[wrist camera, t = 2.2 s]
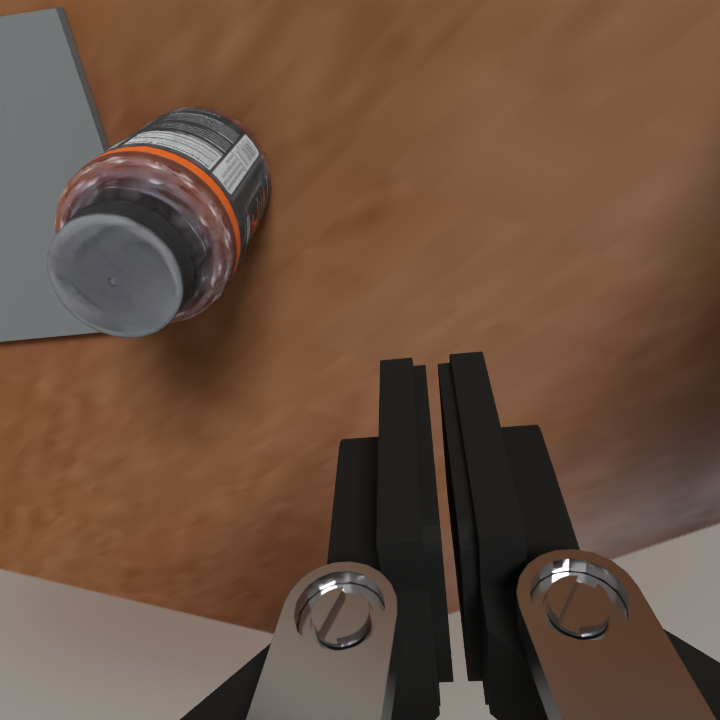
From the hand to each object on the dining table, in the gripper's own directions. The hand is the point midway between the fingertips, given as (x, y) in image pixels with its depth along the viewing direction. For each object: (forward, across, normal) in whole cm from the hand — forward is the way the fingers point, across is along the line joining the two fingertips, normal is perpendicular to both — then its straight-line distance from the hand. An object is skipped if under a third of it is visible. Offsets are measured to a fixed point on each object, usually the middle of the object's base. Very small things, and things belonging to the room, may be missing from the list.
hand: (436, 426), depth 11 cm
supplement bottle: (+19, +9, 0) cm, 21 cm away
